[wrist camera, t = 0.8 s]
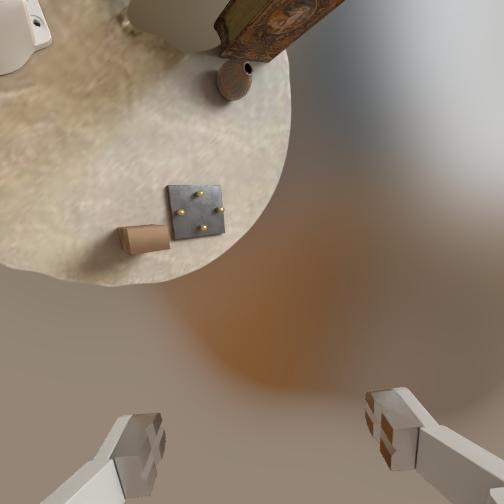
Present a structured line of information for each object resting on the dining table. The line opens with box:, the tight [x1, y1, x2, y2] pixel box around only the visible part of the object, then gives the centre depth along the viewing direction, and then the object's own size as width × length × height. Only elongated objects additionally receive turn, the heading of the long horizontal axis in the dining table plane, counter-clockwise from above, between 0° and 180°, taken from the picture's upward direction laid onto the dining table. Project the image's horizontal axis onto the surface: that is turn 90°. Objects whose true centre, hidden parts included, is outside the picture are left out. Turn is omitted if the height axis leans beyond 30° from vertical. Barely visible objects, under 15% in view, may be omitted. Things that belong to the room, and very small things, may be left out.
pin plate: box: [167, 185, 225, 239], centre depth 51 cm, size 11×12×3 cm
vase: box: [217, 59, 253, 101], centre depth 50 cm, size 7×7×9 cm
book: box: [214, 0, 345, 62], centre depth 45 cm, size 16×6×25 cm, turn 107°
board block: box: [118, 224, 170, 255], centre depth 42 cm, size 4×6×10 cm, turn 95°
